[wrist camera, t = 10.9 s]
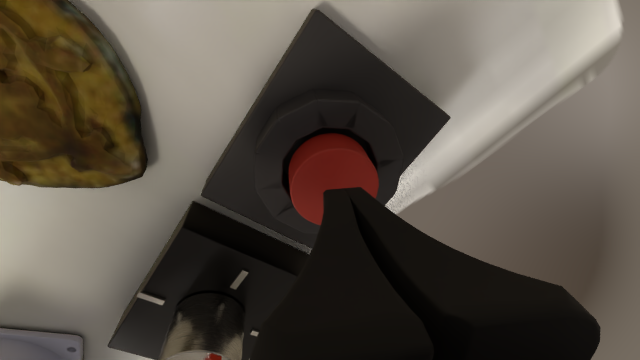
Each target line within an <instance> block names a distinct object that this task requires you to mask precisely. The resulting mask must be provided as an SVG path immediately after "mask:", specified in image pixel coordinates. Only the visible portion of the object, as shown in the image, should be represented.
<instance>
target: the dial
mask: <svg viewBox="0 0 640 360" xmlns="http://www.w3.org/2000/svg"><path fill="white" fill-rule="evenodd" d="M244 327H245V312H244V310H243V308H242V306H241V305H240V304H239V303H238V302H237V301H236V300H234V299H232V298H231V297H228V296H226V295H223V294H218V293H201V294H196V295H193V296H190V297H188V298H186V299H184V300H183V301H182V302H180V303H179V304H178V305H177V307H176V308H175V310H174V313H173V316H172V319H171V322H170V325H169V328H168V331H167V334H166V337H165V340H164V343H163V346H162V349H161V352H160V355H159V358H158V360H241V359H242V348H243V338H244Z"/></svg>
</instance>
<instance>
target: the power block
mask: <svg viewBox="0 0 640 360" xmlns="http://www.w3.org/2000/svg"><path fill="white" fill-rule="evenodd" d="M449 119H450V116H449V115H448V114H446V113H445V112H444V111H443V110H442V109H440V108H439V107H438V106H437V105H435V104H434V103H433V102H432V101H430V100H429V99H428V98H427V97H425V96H424V95H423V94H422V93H421V92H419V91H418V90H417V89H416V88H414V87H413V86H412V85H411V84H409V83H408V82H407V81H406V80H404V79H403V78H402V77H401V76H399V75H398V74H397V73H396V72H395V71H393V70H392V69H391V68H390V67H388V66H387V65H386V64H385V63H383V62H382V61H381V60H380V59H378V58H377V57H376V56H375V55H374V54H372V53H371V52H370V51H369V50H367V49H366V48H365V47H364V46H362V45H361V44H360V43H359V42H357V41H356V40H355V39H354V38H353V37H351V36H350V35H349V34H348V33H346V32H345V31H344V30H343V29H341V28H340V27H339V26H338V25H336V24H335V23H334V22H333V21H332V20H330V19H329V18H328V17H327V16H325V15H324V14H323V13H322V12H320V11H319V10H317V9H312V10H311V12H310V13H309V15H308V16H307V18H306V20H305V21H304V23H303V24H302V26H301V28H300V29H299V31H298V33H297V34H296V36H295V37H294V39H293V41H292V42H291V44H290V46H289V47H288V49H287V50H286V52H285V54H284V55H283V57H282V58H281V60H280V62H279V63H278V65H277V67H276V68H275V70H274V71H273V73H272V75H271V76H270V78H269V80H268V81H267V83H266V84H265V86H264V88H263V89H262V91H261V92H260V94H259V96H258V97H257V99H256V101H255V102H254V104H253V105H252V107H251V109H250V110H249V112H248V113H247V115H246V117H245V118H244V120H243V122H242V123H241V125H240V126H239V128H238V130H237V131H236V133H235V135H234V136H233V138H232V139H231V141H230V143H229V144H228V146H227V147H226V149H225V151H224V152H223V154H222V156H221V157H220V159H219V160H218V162H217V164H216V165H215V167H214V169H213V170H212V172H211V173H210V175H209V177H208V178H207V180H206V183H205V185H204V188H203V190H202V193H201V196H203V197H205V198H207V199H209V200H211V201H213V202H215V203H217V204H219V205H222V206H224V207H226V208H228V209H230V210H232V211H234V212H236V213H238V214H241V215H243V216H245V217H247V218H249V219H251V220H253V221H255V222H257V223H259V224H262V225H264V226H266V227H268V228H270V229H272V230H274V231H276V232H278V233H280V234H283V235H285V236H287V237H289V238H291V239H293V240H295V241H297V242H299V243H301V244H304V245H306V246H308V247H310V248H313V246H314V243H315V241H316V238H317V235H318V232H319V229H320V226H321V225H318V224H315V223H312V222H310V221H308V220H307V219H305V218H304V217H303V216H301V215H300V214H299V213H298V211H297V210H296V209H295V207H294V205H293V203H292V200H291V196H290V186H289V164H290V161H291V158H292V156H293V154H294V153H295V151H296V150H297V149H298V147H299V146H301V145H302V144H303V143H304V142H305V141H307V140H308V139H310V138H312V137H314V136H317V135H320V134H326V133H338V134H343V135H346V136H348V137H350V138H352V139H354V140H355V141H357V142H358V143H359V144H360V145H361V146H362V148H363V149H364V151H365V152H366V154H367V155H368V157H369V159H370V160H371V162H372V164H373V165H374V167H375V169H376V171H377V174H378V179H379V187H378V192H377V196H376V198H375V199H376V200H377V201H379V202H380V203H381V204H382V205H384V206H385V204H386V203H387V202H388V201H389V200H390V199H391V198H392V197H393V195H394V194H395V192H396V191H397V186H398V182H399V178H400V176H401V174H402V173H403V172H404V171H405V170H406V169H407V168H408V166H409V165H410V164H411V163H412V162H413V161H414V159H415V158H416V157H417V156H418V155H419V154H420V153H421V151H422V150H423V149H424V148H425V147H426V146H427V145H428V143H429V142H430V141H431V140H432V139H433V138H434V137H435V135H436V134H437V133H438V132H439V131H440V130H441V128H442V127H443V126H444V125H445V124H446V123H447V122H448V120H449Z"/></svg>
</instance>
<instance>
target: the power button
mask: <svg viewBox="0 0 640 360" xmlns="http://www.w3.org/2000/svg"><path fill="white" fill-rule="evenodd" d="M289 186H290V196H291V200H292V203H293V205H294V207H295V209H296V210H297V211H298V213H299V214H300V215H301V216H303V217H304V218H305V219H307V220H308V221H310V222H312V223H315V224H318V225H321V222H322V217H323V212H324V210H323V192H324V191H325V190H329V189H341V188H353V187H361V188H363V189H364V190H365V191H366V192H368V193H369V194H370V195H371V196H373V197H374V198H376V196H377V192H378V187H379V179H378V174H377V171H376V169H375V167H374V165H373V164H372V162H371V160H370V159H369V157H368V155H367V154H366V152H365V151H364V149H363V148H362V146H361V145H360V144H359V143H358V142H357V141H355V140H354V139H352V138H350V137H348V136H346V135H343V134H338V133H326V134H320V135H317V136H314V137H312V138H310V139H308V140H307V141H305V142H304V143H303V144H302V145H301V146H299V147H298V149H297V150H296V151H295V153H294V154H293V156H292V158H291V161H290V164H289Z"/></svg>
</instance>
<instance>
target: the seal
mask: <svg viewBox="0 0 640 360" xmlns="http://www.w3.org/2000/svg"><path fill="white" fill-rule="evenodd" d="M140 118H141V106H140V103H139V100H138V97H137V95H136V92H135V89H134V87H133V85H132V82H131V80H130V78H129V76H128V74H127V72H126V71H125V69H124V67H123V65H122V64H121V62H120V60H119V58H118V57H117V55H116V53H115V52H114V50H113V49H112V47H111V46H110V45H109V43H108V42H107V41H106V39H105V38H104V37H103V35H102V34H101V32H100V31H99V30H98V29H97V28H96V27H95V26H94V25H93V24H92V23H91V21H90V20H89V19H88V18H87V17H86V16H85V15H84V14H82V13H81V12H80V11H79V10H78V9H77V8H76V7H74V6H73V5H72V4H71V3H70V2H69V1H68V0H0V180H1V181H6V182H8V183H10V184H13V185H18V186H19V185H21V184H25V185H33V186H38V187H53V188H60V187H66V188H102V187H109V186H114V185H118V184H122V183H125V182H128V181H131V180H134V179H137V178H140V177H142V176H143V174H144V172H145V170H146V168H147V161H148V159H147V155H146V151H145V147H144V143H143V139H142V135H141V122H140Z"/></svg>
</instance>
